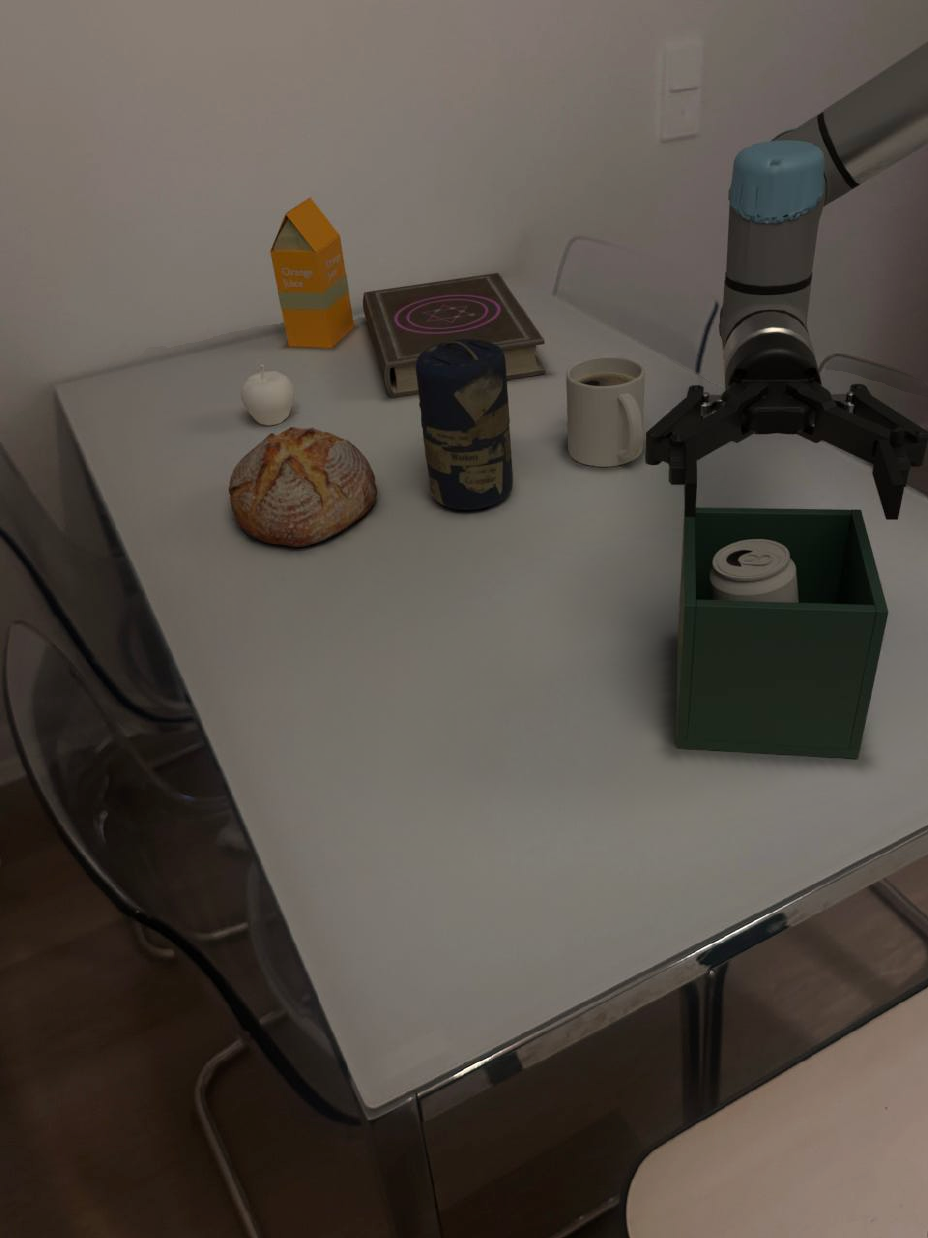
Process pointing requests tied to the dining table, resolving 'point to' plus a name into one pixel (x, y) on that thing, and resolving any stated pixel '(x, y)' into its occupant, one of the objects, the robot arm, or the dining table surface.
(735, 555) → the beverage can
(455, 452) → the canister
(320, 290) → the orange juice
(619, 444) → the mug
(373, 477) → the bread
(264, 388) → the plain white apple
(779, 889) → the dining table surface
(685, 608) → the waste bin
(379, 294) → the book
